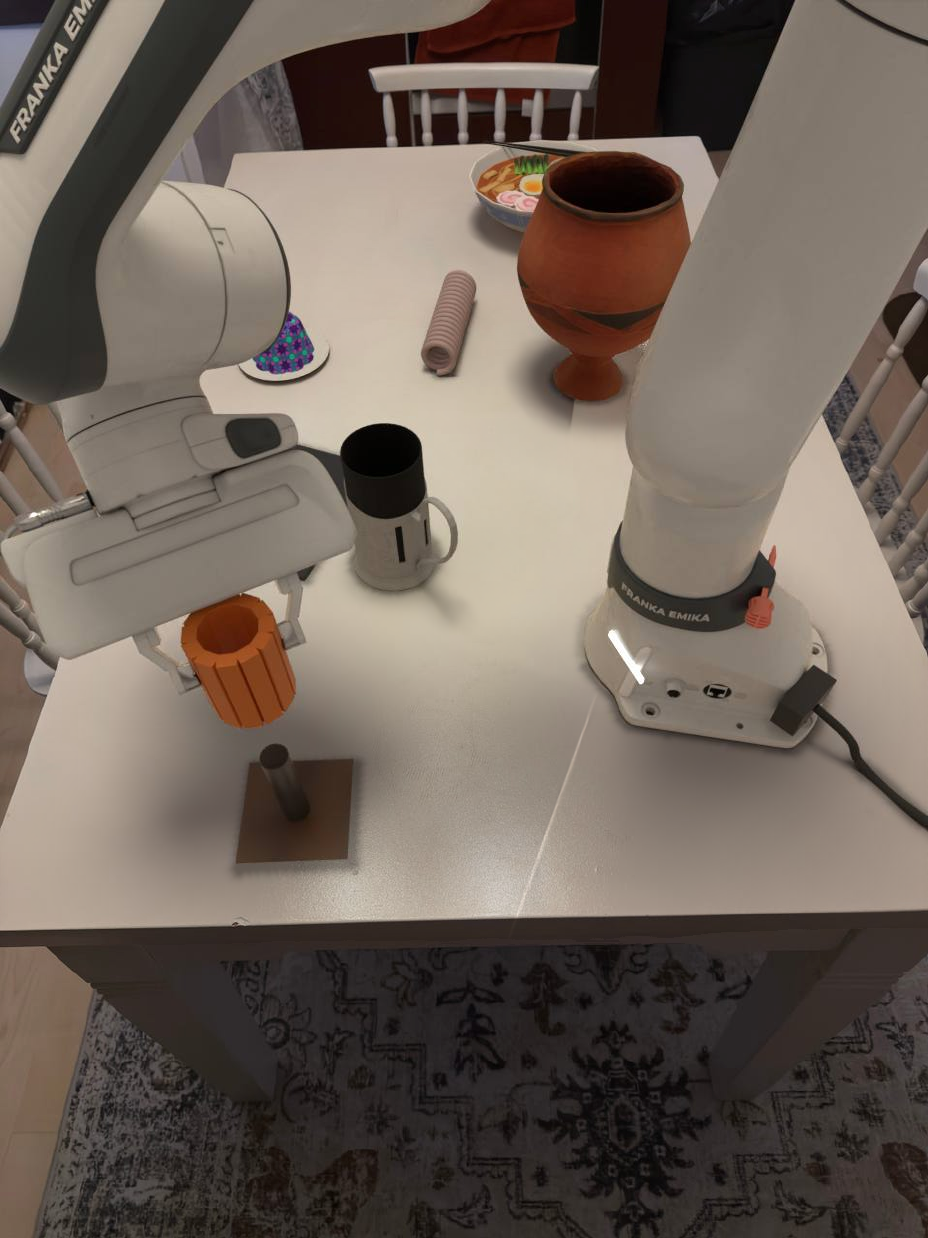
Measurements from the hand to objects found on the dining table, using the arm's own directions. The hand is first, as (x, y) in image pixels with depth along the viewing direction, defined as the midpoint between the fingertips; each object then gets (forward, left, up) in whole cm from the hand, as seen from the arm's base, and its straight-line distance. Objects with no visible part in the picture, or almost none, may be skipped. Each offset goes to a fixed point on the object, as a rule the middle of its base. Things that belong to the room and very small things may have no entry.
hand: (244, 667), depth 55 cm
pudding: (+33, -55, -21) cm, 67 cm away
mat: (+21, -31, -21) cm, 43 cm away
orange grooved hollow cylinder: (0, 0, -4) cm, 4 cm away
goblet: (-6, -64, -21) cm, 68 cm away
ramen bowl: (+12, -99, -21) cm, 102 cm away
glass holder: (+2, -27, -21) cm, 34 cm away
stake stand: (0, +1, -21) cm, 21 cm away
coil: (+14, -67, -21) cm, 71 cm away
